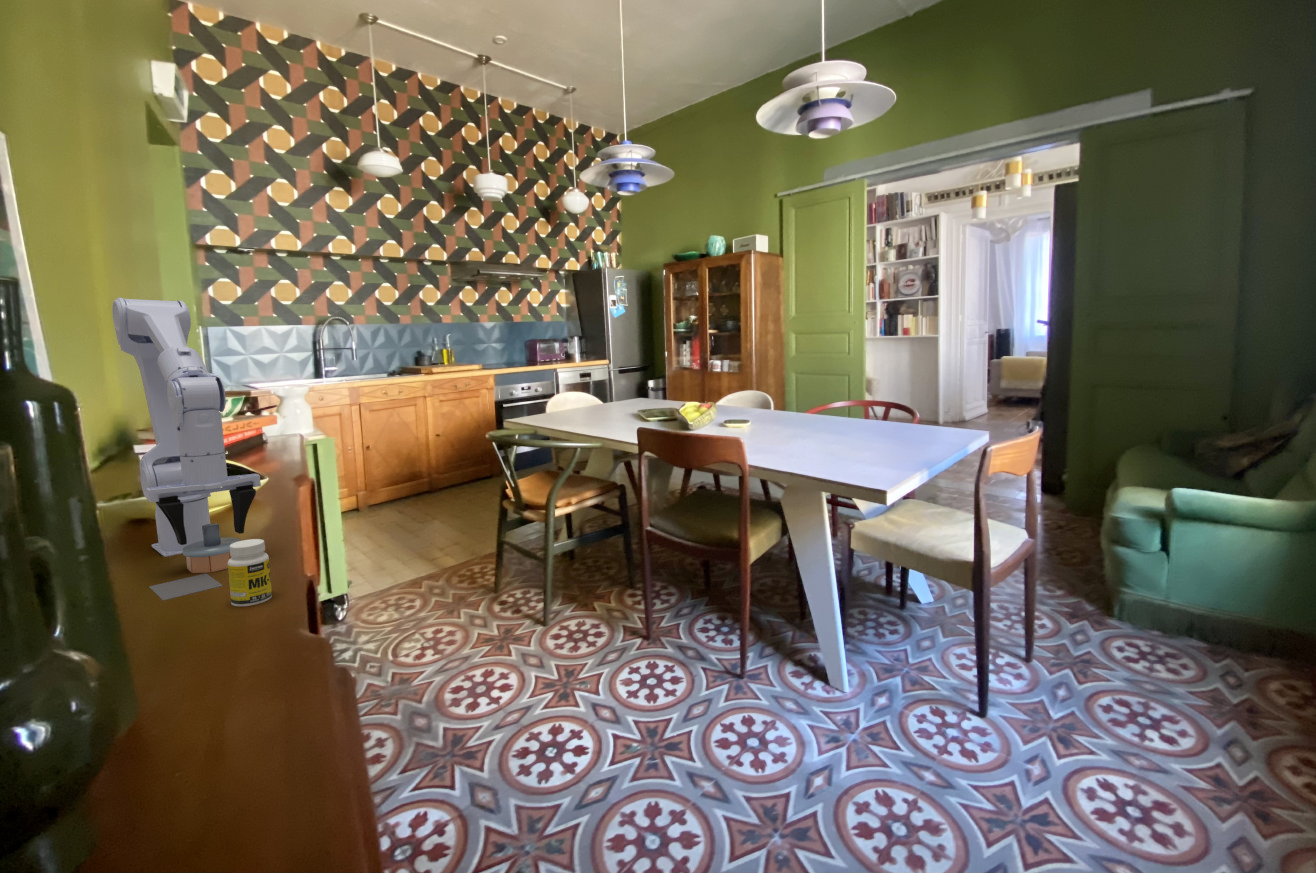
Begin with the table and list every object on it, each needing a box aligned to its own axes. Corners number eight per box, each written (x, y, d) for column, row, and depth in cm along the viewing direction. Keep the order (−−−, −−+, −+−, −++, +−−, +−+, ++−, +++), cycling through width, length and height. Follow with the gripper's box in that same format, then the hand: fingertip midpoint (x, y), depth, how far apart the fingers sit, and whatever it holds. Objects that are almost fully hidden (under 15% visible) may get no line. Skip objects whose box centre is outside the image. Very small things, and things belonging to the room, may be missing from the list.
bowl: (184, 568, 99) (181, 550, 98) (232, 557, 104) (230, 540, 103) (196, 577, 95) (193, 558, 94) (245, 566, 100) (243, 548, 99)
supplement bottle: (252, 610, 83) (246, 549, 82) (222, 607, 84) (216, 547, 82) (280, 596, 87) (275, 538, 86) (252, 593, 88) (246, 536, 87)
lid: (178, 550, 99) (175, 525, 98) (234, 539, 104) (232, 516, 104) (189, 560, 93) (186, 535, 93) (247, 548, 99) (245, 524, 98)
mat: (149, 589, 90) (148, 586, 90) (206, 575, 96) (206, 573, 95) (163, 603, 85) (163, 600, 85) (223, 588, 90) (222, 585, 90)
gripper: (150, 462, 89) (161, 554, 91) (264, 450, 100) (271, 532, 102) (139, 457, 93) (149, 544, 95) (249, 446, 104) (256, 524, 106)
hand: (211, 537), depth 99 cm, fingers open, 7 cm apart
